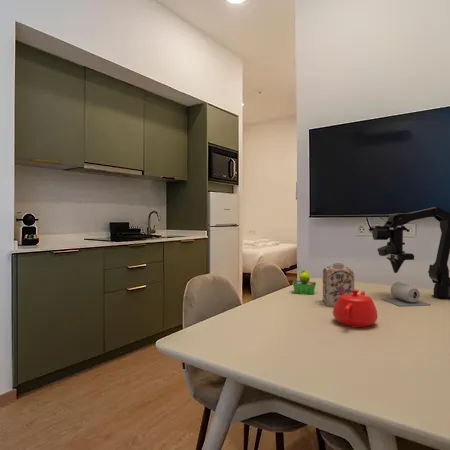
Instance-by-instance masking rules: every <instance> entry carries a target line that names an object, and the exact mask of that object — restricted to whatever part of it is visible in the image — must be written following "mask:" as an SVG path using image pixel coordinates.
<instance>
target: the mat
mask: <svg viewBox="0 0 450 450" xmlns="http://www.w3.org/2000/svg"><path fill="white" fill-rule="evenodd" d="M381 300H382V301H384V302H387V303H390V304H391V305H394V306H397V307H416V306H417V307H421V306H431V305H432V304H430V303H427V302H424V301H422V300H419V299H418V300H417V301H416V302H413V303H409V302H406V301H403V300H401V299H398V298H395V297H391V298H389V297H388V298H381Z"/></svg>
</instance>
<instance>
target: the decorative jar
mask: <svg viewBox="0 0 450 450" xmlns="http://www.w3.org/2000/svg"><path fill="white" fill-rule="evenodd" d="M352 289H355V273H354V270H353V269H352V268H351V267H348V266H345V264H344V263H343V262H333V263H332V265H331V266H330V265H329V266H325V267H324V268H323V270H322V300H323V302H324V303H325V304H326V306H327V307H334V306H335V303H336V302H337V299H338V298H339V296H340V295H343V294H353V293H352V291H351V290H352Z"/></svg>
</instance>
